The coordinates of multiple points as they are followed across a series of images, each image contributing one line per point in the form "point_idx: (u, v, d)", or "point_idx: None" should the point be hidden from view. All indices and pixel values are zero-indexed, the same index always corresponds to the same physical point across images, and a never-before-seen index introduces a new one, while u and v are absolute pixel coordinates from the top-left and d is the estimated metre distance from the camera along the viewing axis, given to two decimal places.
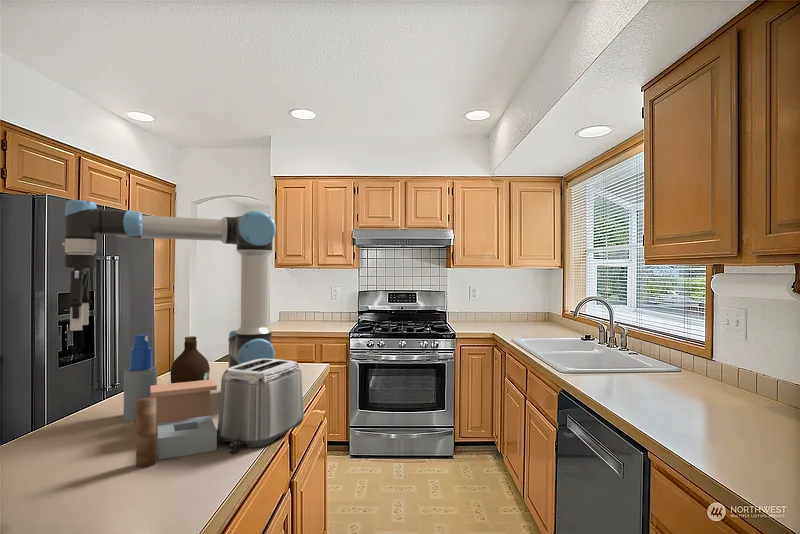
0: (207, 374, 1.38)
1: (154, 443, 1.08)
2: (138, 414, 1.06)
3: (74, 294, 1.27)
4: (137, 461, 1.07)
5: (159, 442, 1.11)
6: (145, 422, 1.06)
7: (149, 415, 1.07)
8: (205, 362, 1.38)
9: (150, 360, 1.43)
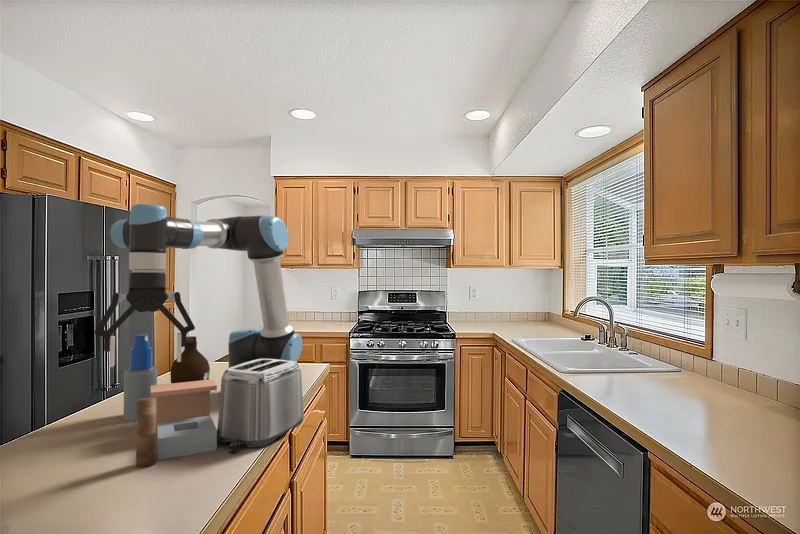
0: (207, 374, 1.38)
1: (154, 443, 1.08)
2: (138, 414, 1.06)
3: None
4: (137, 461, 1.07)
5: (159, 442, 1.11)
6: (145, 422, 1.06)
7: (149, 415, 1.07)
8: (205, 362, 1.38)
9: (150, 360, 1.43)
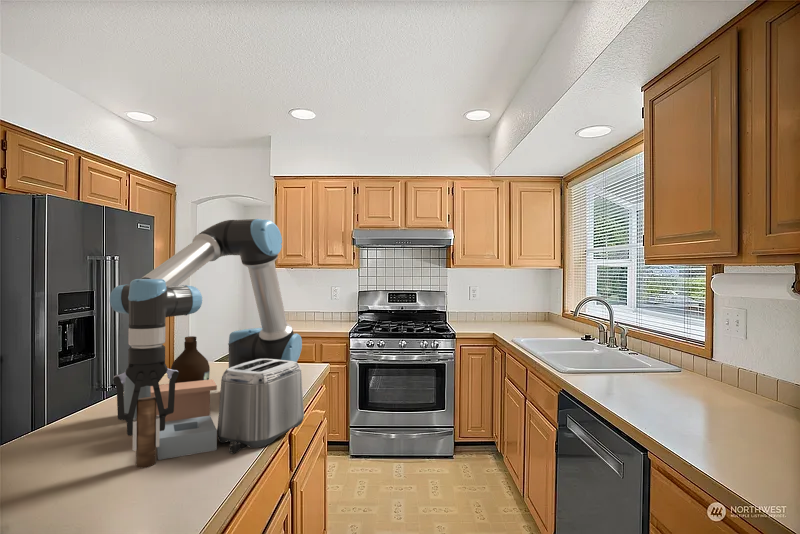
0: (207, 374, 1.38)
1: (154, 443, 1.08)
2: (138, 414, 1.06)
3: None
4: (137, 461, 1.07)
5: (159, 442, 1.11)
6: (145, 422, 1.06)
7: (149, 415, 1.07)
8: (205, 362, 1.38)
9: None
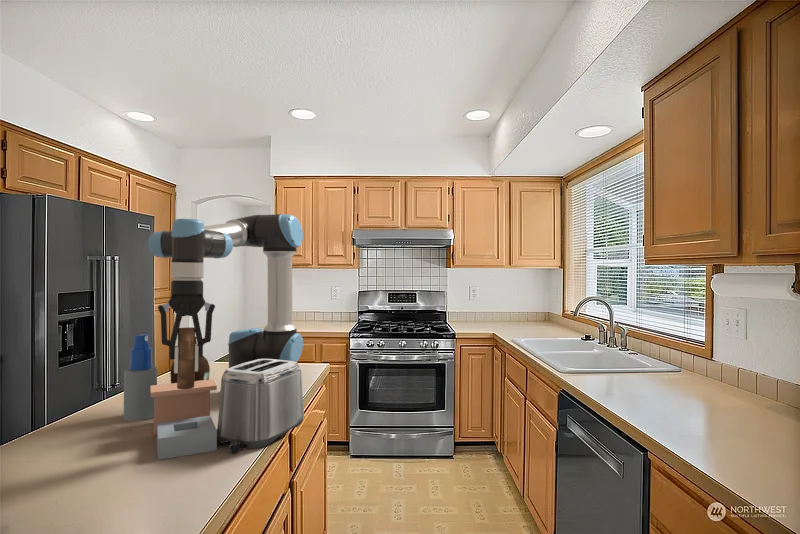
0: (207, 374, 1.38)
1: (193, 368, 1.19)
2: (179, 340, 1.18)
3: (161, 333, 1.17)
4: (178, 383, 1.18)
5: (159, 442, 1.11)
6: (185, 348, 1.18)
7: (189, 341, 1.18)
8: (205, 362, 1.38)
9: (150, 360, 1.43)
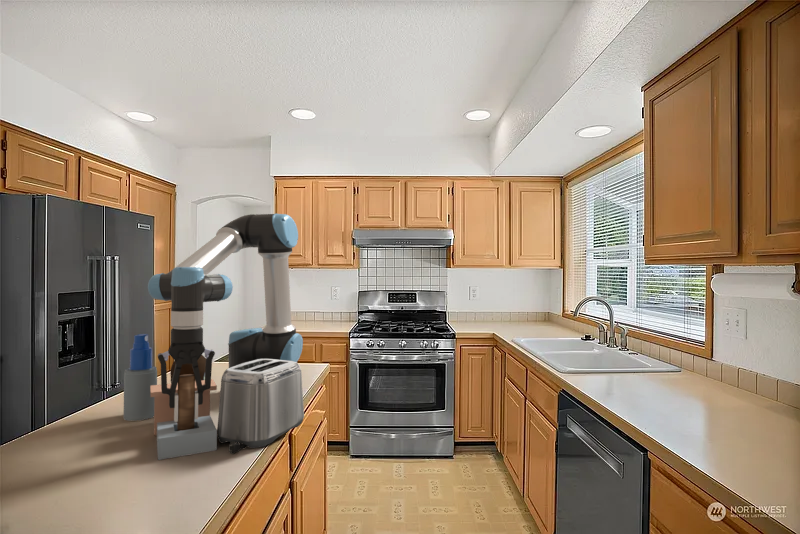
0: None
1: (193, 415, 1.19)
2: (179, 389, 1.18)
3: None
4: None
5: (159, 442, 1.11)
6: (185, 396, 1.18)
7: (189, 389, 1.18)
8: (205, 362, 1.38)
9: (150, 360, 1.43)
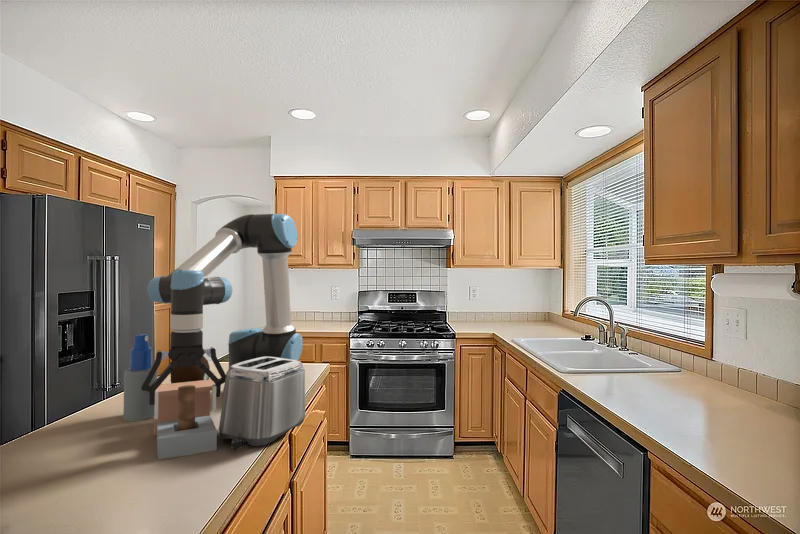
0: None
1: (193, 426, 1.19)
2: (179, 400, 1.18)
3: (146, 377, 1.15)
4: None
5: (159, 442, 1.11)
6: (185, 407, 1.18)
7: (189, 401, 1.18)
8: (205, 362, 1.38)
9: (150, 360, 1.43)
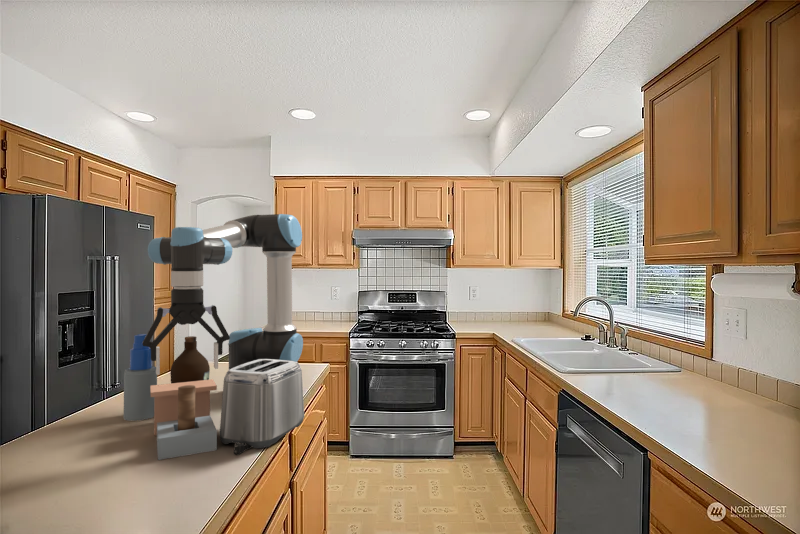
0: (207, 374, 1.38)
1: (194, 426, 1.19)
2: (180, 400, 1.18)
3: (147, 333, 1.16)
4: None
5: (159, 442, 1.11)
6: (186, 407, 1.18)
7: (189, 401, 1.18)
8: (205, 362, 1.38)
9: (150, 360, 1.43)
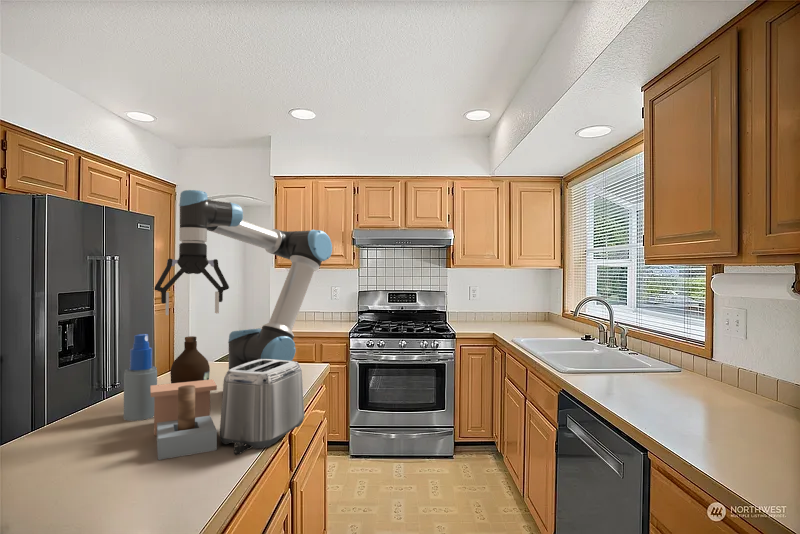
0: (207, 374, 1.38)
1: (194, 426, 1.19)
2: (180, 400, 1.18)
3: (158, 280, 1.35)
4: None
5: (159, 442, 1.11)
6: (185, 407, 1.18)
7: (189, 401, 1.18)
8: (205, 362, 1.38)
9: (150, 360, 1.43)
